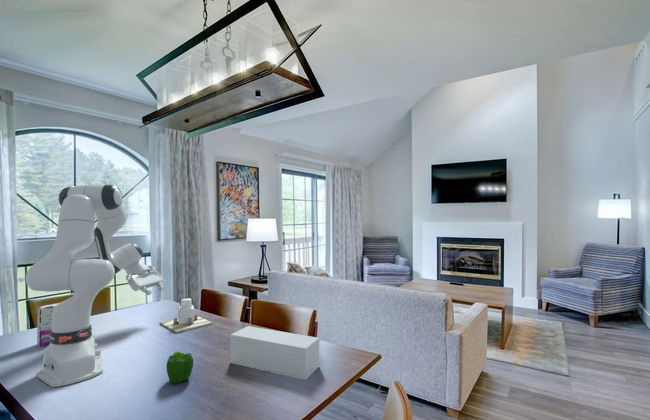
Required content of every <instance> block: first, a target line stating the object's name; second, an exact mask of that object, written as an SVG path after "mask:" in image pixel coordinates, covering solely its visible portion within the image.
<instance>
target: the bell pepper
mask: <svg viewBox="0 0 650 420" xmlns="http://www.w3.org/2000/svg"><path fill="white" fill-rule="evenodd" d="M193 367H194V358H193V354H192V353H190V352H189V353H186V354H185V353H184V352H180V351H174V352H173V353H172V355H169V357H168V358H167V361H166V374H167V376H168V377H167V378H168V380H169V382H170V383H171V384H173V385H174V384H175V385H176V384H180V383H182V382H183V381H187V380H189V378H190V377H191V374H192V372H193Z"/></svg>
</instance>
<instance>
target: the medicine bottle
mask: <svg viewBox="0 0 650 420" xmlns="http://www.w3.org/2000/svg"><path fill="white" fill-rule="evenodd" d="M193 300H194V299H193V298H192V297H191V296H190V297H188V296H187V297H182V298H181V299H179V307H178V318H179V324H186V323H189V318H192V323H193V322H194V314H195V306H194V304H193V303H194V301H193Z"/></svg>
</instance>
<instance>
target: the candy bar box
mask: <svg viewBox="0 0 650 420" xmlns="http://www.w3.org/2000/svg"><path fill="white" fill-rule="evenodd" d="M59 303H60V302H57V303H56V302H55V303H51V304H46V305H39V306H37V309H36V310H37V311H36V312H37V313H36V314H37V317H36V318H37V324H36V325H37V326H36V331H37V332H36V339H37V340H36V345H37V346H38V347H39V348H40V347H44V346H45V347H46V346H49V344H50V343H51V342H50V338H49V337H50V331H51V330H52V311H53V309H54V308H55V306H56V305H58V304H59Z"/></svg>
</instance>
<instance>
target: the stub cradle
mask: <svg viewBox="0 0 650 420" xmlns="http://www.w3.org/2000/svg"><path fill="white" fill-rule="evenodd" d="M159 324H160V325H161V326H163V327H165V328H166V329H167V330H169V331H172V332H173V333H175V334H179V333H183V332H187V331H190V330H194V329H198V328H201V327H206V326H210V325H212V324H213V323H212V321H210V320H207V319H205V318H203V317H201V316H199V315H198V313H194V322H193V323H192V318H189V323H186V324H179V317H174V318H171V319H166V320H161V321H159Z"/></svg>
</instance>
